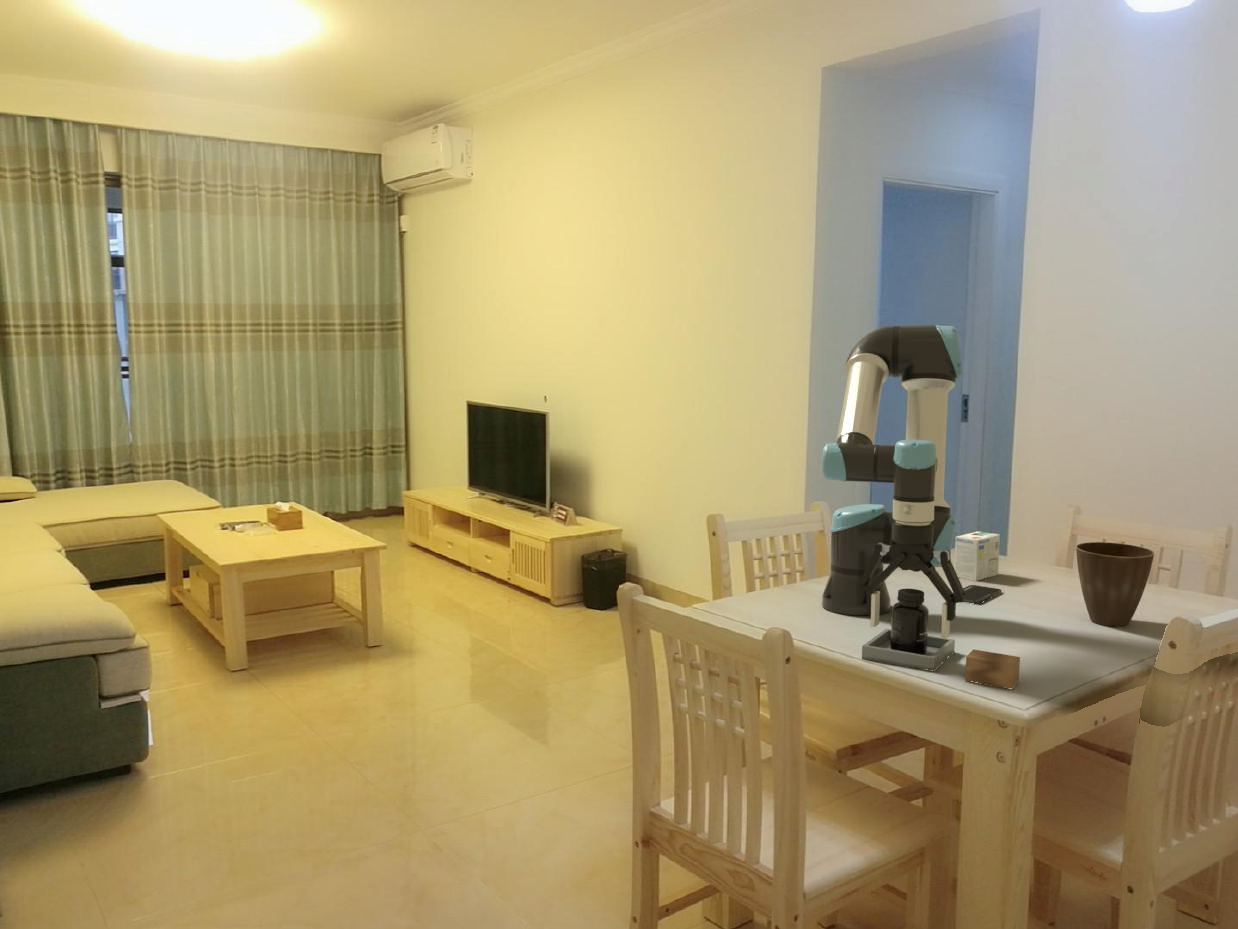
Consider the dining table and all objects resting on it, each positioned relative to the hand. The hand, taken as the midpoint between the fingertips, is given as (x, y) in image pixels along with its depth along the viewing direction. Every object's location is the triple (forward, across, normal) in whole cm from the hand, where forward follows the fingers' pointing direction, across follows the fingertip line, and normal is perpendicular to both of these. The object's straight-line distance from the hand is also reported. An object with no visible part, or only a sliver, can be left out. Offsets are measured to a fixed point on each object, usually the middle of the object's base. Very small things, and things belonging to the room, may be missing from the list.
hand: (909, 631), depth 190 cm
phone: (+5, -1, +53) cm, 53 cm away
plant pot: (+5, +29, +46) cm, 55 cm away
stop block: (+5, +17, -6) cm, 19 cm away
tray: (+5, 0, 0) cm, 5 cm away
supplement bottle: (+4, 0, 0) cm, 4 cm away
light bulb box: (+5, -6, +74) cm, 74 cm away
